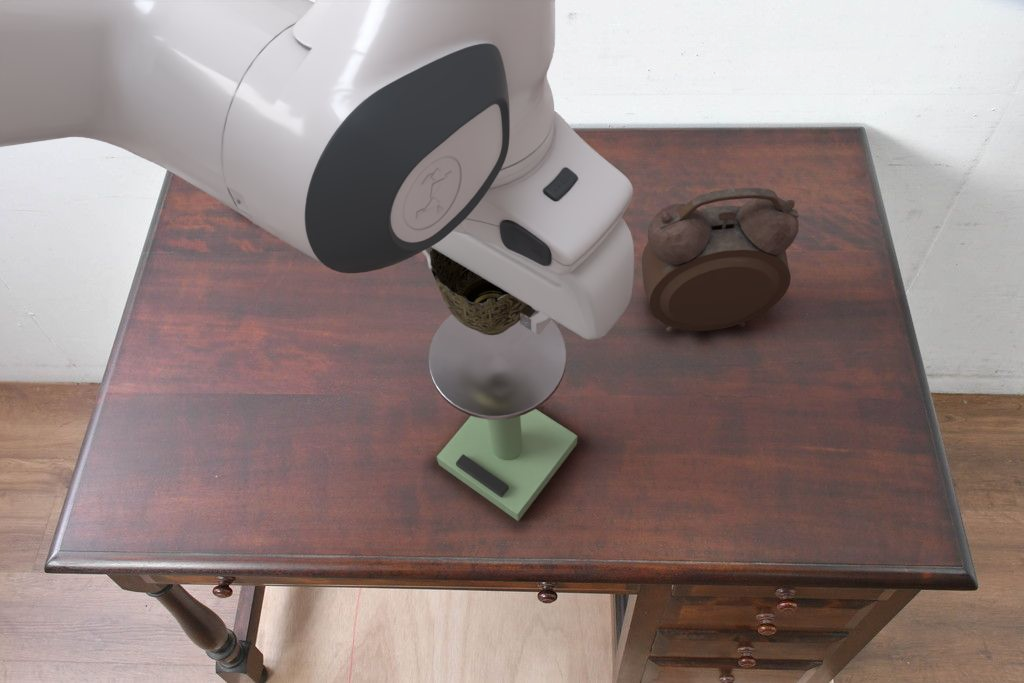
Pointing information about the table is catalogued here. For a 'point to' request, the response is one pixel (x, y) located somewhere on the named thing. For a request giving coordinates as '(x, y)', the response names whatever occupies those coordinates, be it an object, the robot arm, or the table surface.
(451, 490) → the table surface
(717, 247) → the alarm clock
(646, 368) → the table surface
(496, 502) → the scale
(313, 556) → the table surface
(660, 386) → the table surface
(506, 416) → the brushed steel disc
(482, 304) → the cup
